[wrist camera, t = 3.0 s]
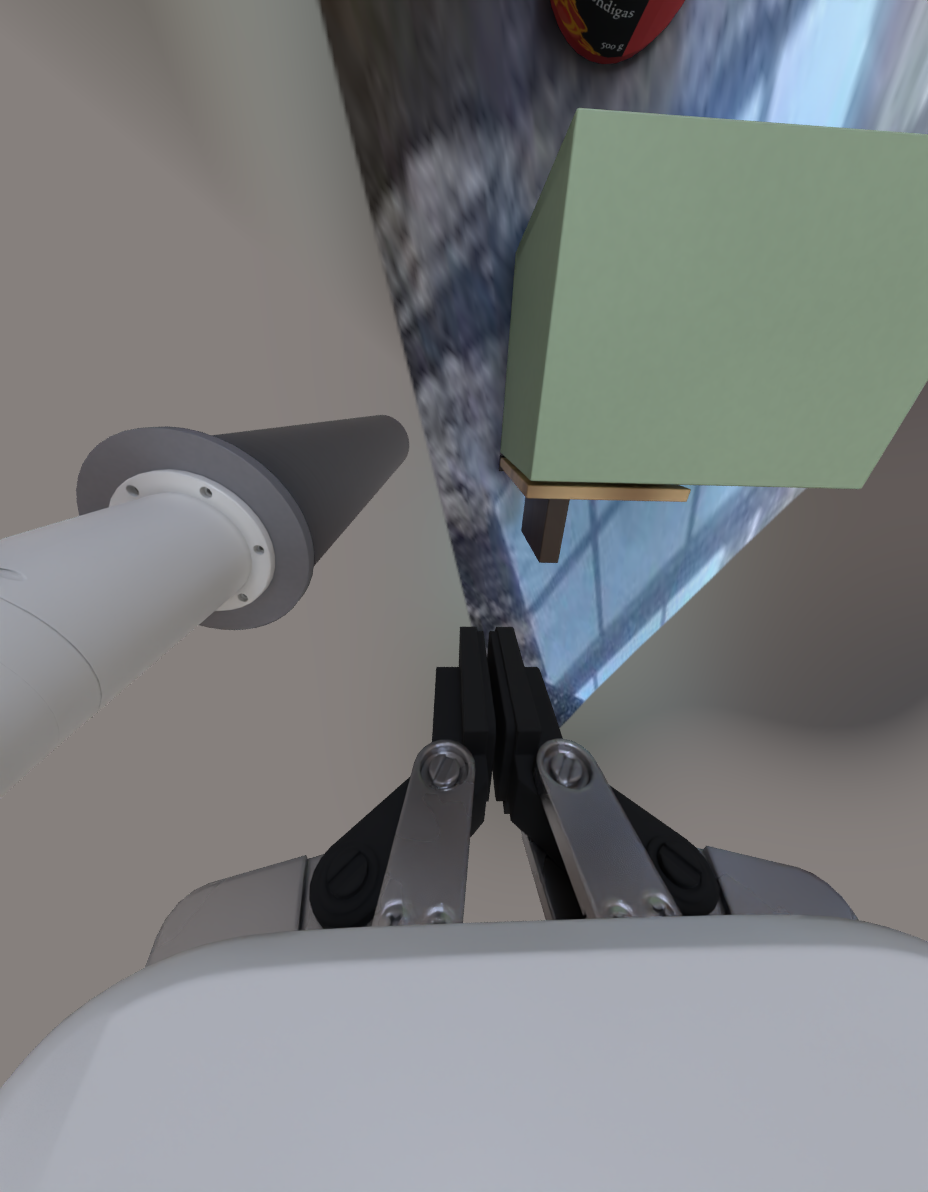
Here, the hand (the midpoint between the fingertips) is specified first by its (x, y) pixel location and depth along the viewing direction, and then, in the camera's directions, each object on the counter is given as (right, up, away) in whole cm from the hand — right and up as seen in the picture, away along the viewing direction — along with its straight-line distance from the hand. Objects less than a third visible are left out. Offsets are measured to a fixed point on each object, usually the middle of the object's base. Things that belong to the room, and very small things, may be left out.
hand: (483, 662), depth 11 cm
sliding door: (+7, +12, +17) cm, 22 cm away
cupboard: (+11, +19, +14) cm, 26 cm away
